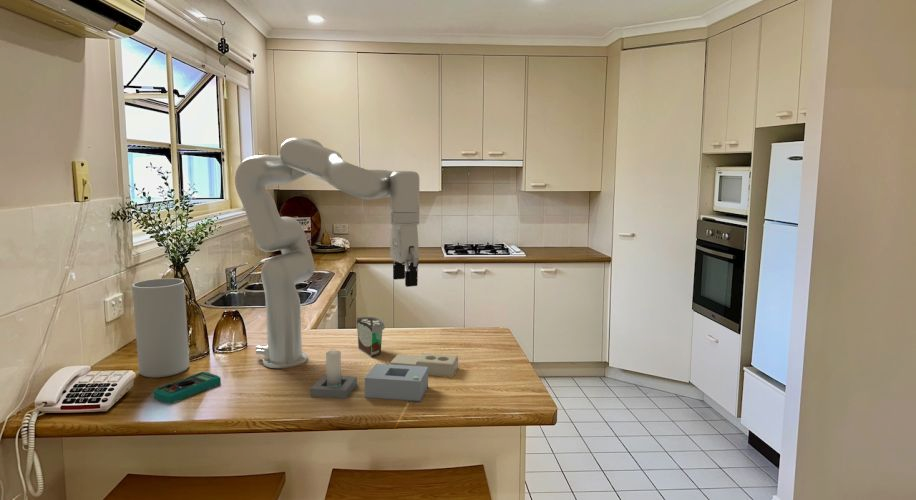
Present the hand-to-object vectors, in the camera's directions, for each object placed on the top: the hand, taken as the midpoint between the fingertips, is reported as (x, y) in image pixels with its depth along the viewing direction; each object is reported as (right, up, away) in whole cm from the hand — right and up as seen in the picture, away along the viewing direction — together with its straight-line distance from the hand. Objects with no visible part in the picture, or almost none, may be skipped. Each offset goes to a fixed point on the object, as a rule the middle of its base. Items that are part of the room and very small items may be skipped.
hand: (405, 282), depth 147 cm
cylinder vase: (-68, -25, +7) cm, 73 cm away
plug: (-17, -27, -7) cm, 33 cm away
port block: (-1, -28, -7) cm, 29 cm away
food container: (-12, -23, +25) cm, 36 cm away
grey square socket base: (-17, -28, -6) cm, 33 cm away
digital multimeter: (-55, -28, -6) cm, 62 cm away
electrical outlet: (+5, -26, +10) cm, 28 cm away
